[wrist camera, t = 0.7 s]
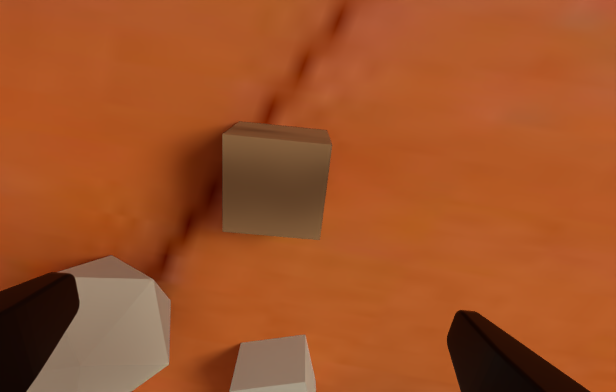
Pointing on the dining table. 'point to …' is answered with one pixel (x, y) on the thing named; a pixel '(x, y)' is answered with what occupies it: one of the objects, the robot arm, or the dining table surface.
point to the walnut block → (274, 179)
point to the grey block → (274, 366)
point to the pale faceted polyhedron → (110, 332)
